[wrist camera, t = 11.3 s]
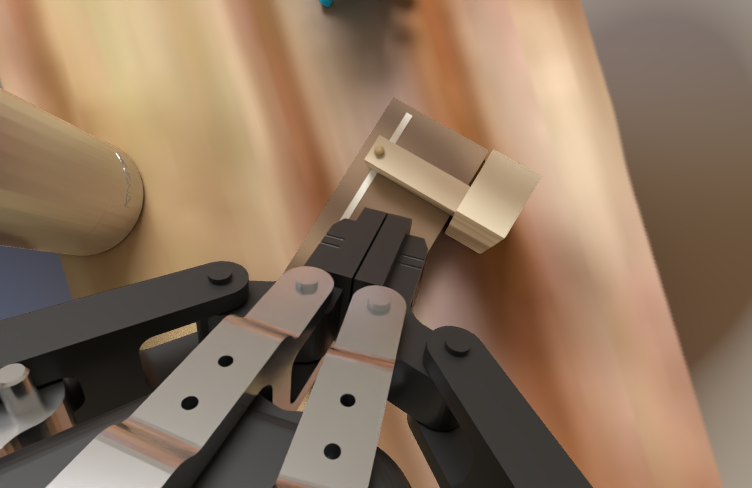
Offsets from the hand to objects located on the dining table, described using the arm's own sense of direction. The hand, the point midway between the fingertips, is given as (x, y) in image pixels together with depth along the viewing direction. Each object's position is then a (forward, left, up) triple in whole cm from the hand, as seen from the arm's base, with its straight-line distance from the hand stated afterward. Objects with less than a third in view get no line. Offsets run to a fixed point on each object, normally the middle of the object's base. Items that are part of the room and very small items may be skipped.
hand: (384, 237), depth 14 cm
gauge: (+4, +5, -20) cm, 21 cm away
